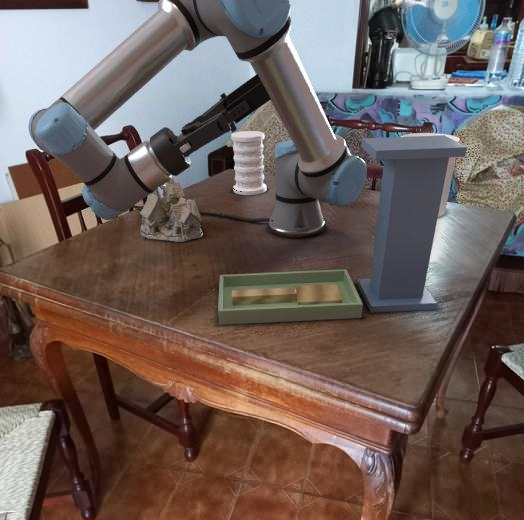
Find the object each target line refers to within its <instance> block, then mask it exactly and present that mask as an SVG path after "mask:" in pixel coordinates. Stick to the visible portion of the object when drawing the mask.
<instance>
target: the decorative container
mask: <svg viewBox="0 0 524 520" xmlns="http://www.w3.org/2000/svg"><path fill="white" fill-rule="evenodd" d="M230 137H231V141H233V145H232V151H233V154H234V155H233V161H234V165H233V169H234V171H235V173H234V174H235V175H234V181H235V184H234V185H233V186H232V190H233V193H235V194H237V195H240V196H241V195H242V196H255V195H256V196H257V195H260V194H261V195H262V194H264V193H266V192H267V190H268V189H267V184H265V183H264V180H265V174H264V170H265V165H264V159H265V156H264V146H265V145H264V144H263V140H264V139H265V137H266V136H265V132H262V131H258V130H243V131H234V132H233V133H231V134H230ZM233 188H234V189H235V190H234V189H233ZM236 190H237V191H236ZM240 191H242V192H240Z"/></svg>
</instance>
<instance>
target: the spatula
mask: <svg viewBox="0 0 524 520" xmlns="http://www.w3.org/2000/svg"><path fill="white" fill-rule="evenodd" d="M289 302H296V303H297V305H314V304H335V303H342V298H341V295H340V293H339V290H338V288H337V286H336V284H329V285H309V286H294V287H292V288H272V289H252V290H232V305H249V304H269V303H289Z"/></svg>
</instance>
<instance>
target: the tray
mask: <svg viewBox="0 0 524 520" xmlns="http://www.w3.org/2000/svg"><path fill="white" fill-rule="evenodd" d="M218 284H219V285H218V304H217V315H218V316H217V317H218V325H219V326H224V325H225V326H227V325H243V324H246V325H247V324H265V323H268V324H269V323H288V322H307V321H326V320H327V321H329V320H346V319H361V318H362V315H363V308H364V307H363V306H364V304H363V301H362V299H361V297H360V295H359V293H358V290H357V289H356V286H355V284H354V282H353V280H352V278H351V276H350V274H349V271H348V269H347V268H345V269H321V270H320V269H319V270H300V271H279V272H275V271H274V272H258V273H257V272H256V273H234V274H233V273H232V274H220V275H219V283H218ZM329 284H336V286H337V288H338V290H339V293H340V295H341V298H342V303H335V304H314V305H297V303H296V302H289V303H269V304H249V305H232V290H252V289H272V288H292V287H294V286H309V285H329Z"/></svg>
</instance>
